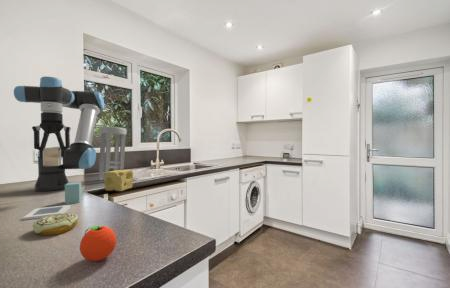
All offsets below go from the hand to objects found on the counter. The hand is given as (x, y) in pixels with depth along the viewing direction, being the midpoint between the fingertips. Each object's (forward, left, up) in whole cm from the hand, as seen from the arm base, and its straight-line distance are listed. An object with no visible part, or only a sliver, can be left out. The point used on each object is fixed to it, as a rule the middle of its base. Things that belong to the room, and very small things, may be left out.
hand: (53, 164), depth 97 cm
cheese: (-12, +26, -16) cm, 33 cm away
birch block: (0, 0, 0) cm, 0 cm away
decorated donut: (+41, +11, -16) cm, 46 cm away
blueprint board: (+22, +4, -16) cm, 27 cm away
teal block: (+8, +9, -16) cm, 20 cm away
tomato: (+65, +24, -16) cm, 71 cm away
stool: (-44, +20, -16) cm, 51 cm away
